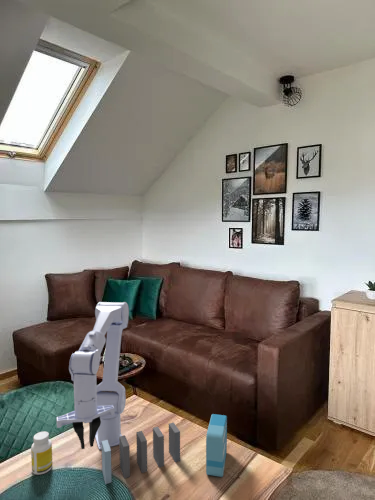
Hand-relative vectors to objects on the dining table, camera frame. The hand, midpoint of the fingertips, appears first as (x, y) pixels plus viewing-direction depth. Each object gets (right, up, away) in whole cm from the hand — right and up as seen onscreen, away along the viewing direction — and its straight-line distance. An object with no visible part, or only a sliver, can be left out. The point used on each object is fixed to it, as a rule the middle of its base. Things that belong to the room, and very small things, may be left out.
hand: (87, 445), depth 91 cm
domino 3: (+18, -10, +9) cm, 23 cm away
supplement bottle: (-15, -10, +6) cm, 19 cm away
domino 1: (+9, -10, +5) cm, 14 cm away
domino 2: (+14, -10, +7) cm, 18 cm away
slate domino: (+5, -10, +3) cm, 12 cm away
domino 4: (+23, -10, +11) cm, 27 cm away
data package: (+35, -10, +8) cm, 37 cm away
